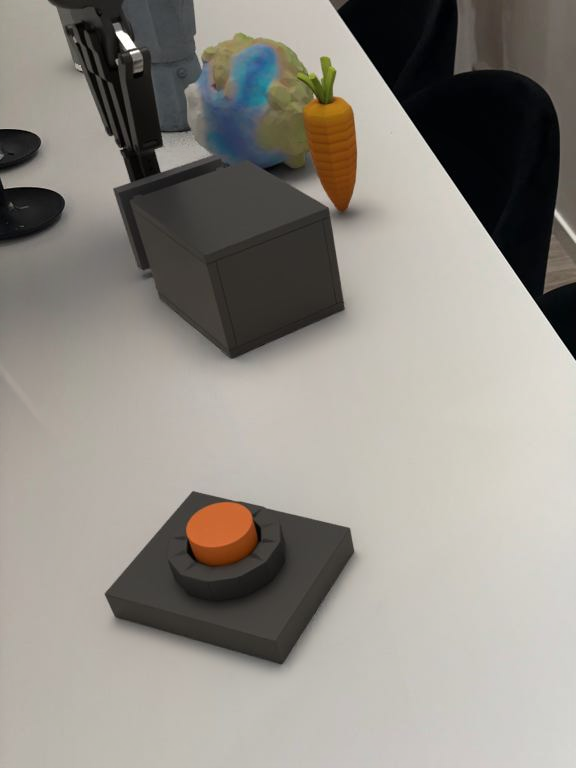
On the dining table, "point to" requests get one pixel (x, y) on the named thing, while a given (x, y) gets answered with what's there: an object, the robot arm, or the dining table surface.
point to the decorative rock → (250, 103)
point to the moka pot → (167, 53)
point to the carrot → (331, 136)
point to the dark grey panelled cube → (240, 255)
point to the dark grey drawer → (152, 185)
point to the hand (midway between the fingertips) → (156, 212)
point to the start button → (222, 534)
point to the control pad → (235, 582)
